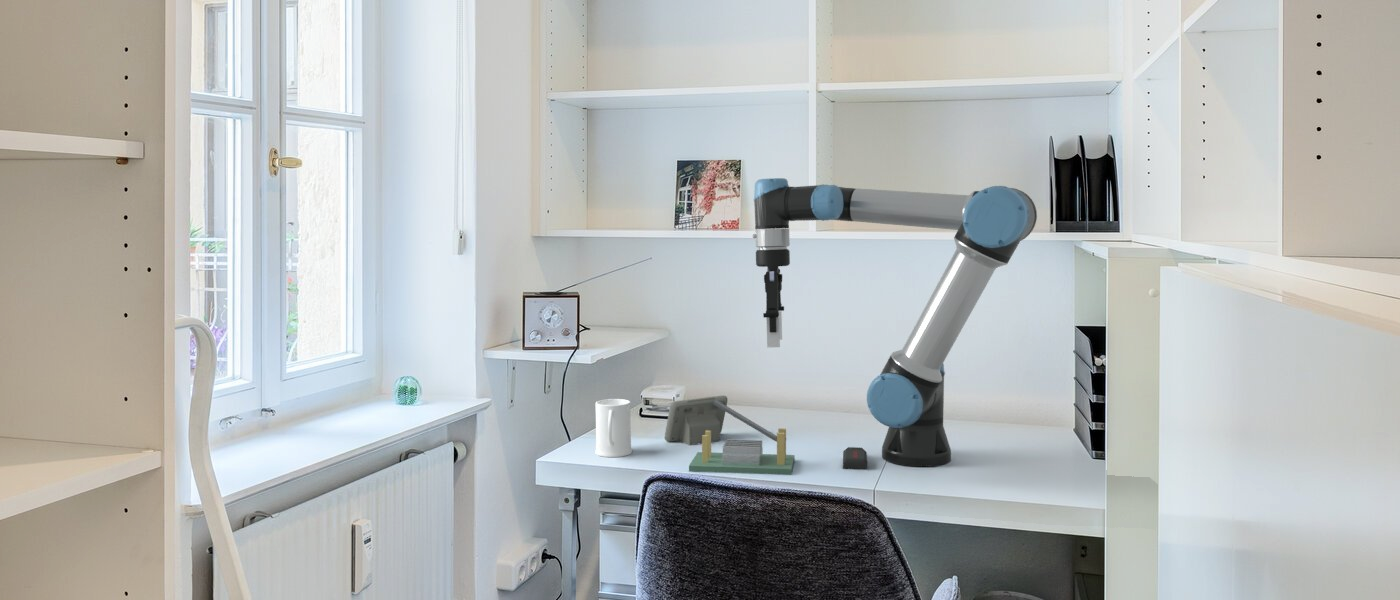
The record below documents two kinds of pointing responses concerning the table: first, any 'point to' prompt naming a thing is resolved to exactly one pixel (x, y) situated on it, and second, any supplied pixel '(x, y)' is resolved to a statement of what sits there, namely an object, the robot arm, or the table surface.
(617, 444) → the mug
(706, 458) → the board
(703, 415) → the digital clock
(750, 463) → the heatsink
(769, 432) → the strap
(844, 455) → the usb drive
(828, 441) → the table surface
